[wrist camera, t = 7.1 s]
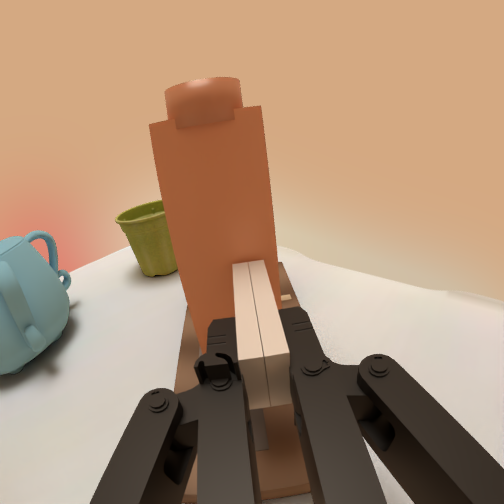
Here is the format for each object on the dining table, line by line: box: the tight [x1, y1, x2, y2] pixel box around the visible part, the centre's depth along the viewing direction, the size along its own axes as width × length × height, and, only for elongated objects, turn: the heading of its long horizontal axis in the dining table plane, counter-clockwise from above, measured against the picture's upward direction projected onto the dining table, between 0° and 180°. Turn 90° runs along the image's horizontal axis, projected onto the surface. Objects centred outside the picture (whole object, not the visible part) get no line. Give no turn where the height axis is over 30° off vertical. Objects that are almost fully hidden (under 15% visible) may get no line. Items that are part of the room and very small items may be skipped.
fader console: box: [174, 262, 311, 504], centre depth 21 cm, size 24×10×2 cm, turn 5°
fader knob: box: [149, 77, 282, 357], centre depth 15 cm, size 4×6×16 cm, turn 95°
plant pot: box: [115, 200, 178, 277], centre depth 38 cm, size 9×9×9 cm
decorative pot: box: [0, 231, 71, 375], centre depth 22 cm, size 16×16×14 cm
